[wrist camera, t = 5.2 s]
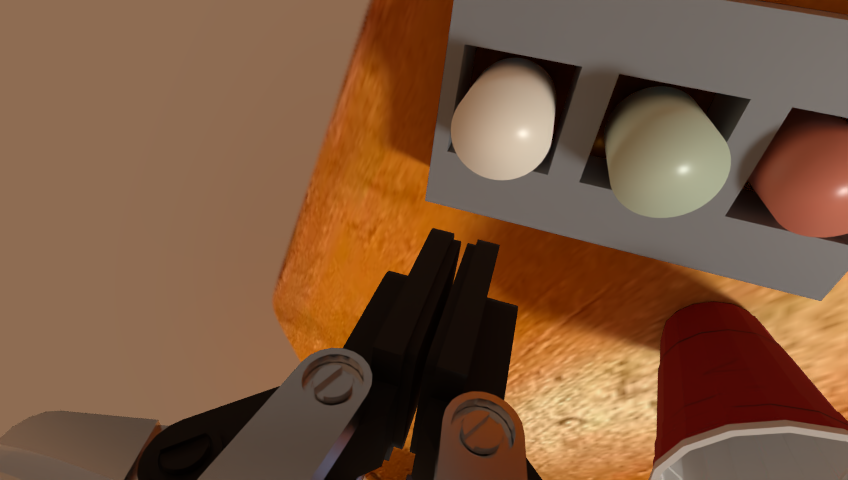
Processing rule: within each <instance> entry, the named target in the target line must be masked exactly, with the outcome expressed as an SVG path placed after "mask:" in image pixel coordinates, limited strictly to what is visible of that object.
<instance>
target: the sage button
mask: <svg viewBox="0 0 848 480" xmlns="http://www.w3.org/2000/svg"><path fill="white" fill-rule="evenodd" d="M604 144H605V151H606V158H607V165H608V172H609V179H610V185H611V188H612V191H613V193H614V195H615V196H616V198H617V199H618V200H619V202H620V203H621V204H622V205H624V206H625V207H626V208H627V209H629V210H631V211H633V212H635V213H637V214H640V215H643V216H647V217H652V218H669V217H676V216H680V215H684V214H687V213H690V212H692V211H694V210H696V209H698V208H700V207H702V206H703V205H705V204H706V203H707V202H709V201H710V200H711V199H712V198H713V197H714V196H715V195H716V194H717V193H718V192H719V191H720V190H721V188H722V187H723V185H724V184H725V182H726V180H727V178H728V175H729V172H730V166H731V155H730V150H729V147H728V145H727V143H726V141H725V140H724V138H723V137H722V135H721V134H720V133H719V131H718V130H717V129H716V128H715V126H714V125H713V124H712V122H711V121H710V120H709V118H708V117H707V116H706V114H705V113H704V112H703V110H702V109H701V108H700V107H699V105H698V104H697V103H696V101H695V100H694V99H693V98H692V97H691V96H690V95H688V94H687V93H685V92H684V91H681V90H679V89H676V88H673V87H666V86H656V87H649V88H645V89H642V90H639V91H637V92H635V93H633V94H631V95H629V96H628V97H626V98H625V99H624V100H622V101H621V102H620V103H619V104H618V105H617V106H616V107H615V108H614V110H613V111H612V112H611V114H610V116H609V117H608V120H607V122H606V125H605V129H604Z"/></svg>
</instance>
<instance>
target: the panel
mask: <svg viewBox="0 0 848 480" xmlns="http://www.w3.org/2000/svg"><path fill="white" fill-rule="evenodd" d="M477 47H482V48H488V49H493V50H498V51H503V52H508V53H514V54H519V55H524V56H529V57H534V58H540V59H545V60H550V61H555V62H560V63H565V64H571V65H576V69H575V72H574V75H573V78H572V82H571V85H570V88H569V91H568V94H567V98H566V101H565V104H564V107H563V110H562V114H561V117H560V120H559V123H558V127H557V130H556V133H555V136H554V139H553V143H552V146H550V148H549V151H548V153H547V155H546V156H545V158H544V159H543V161H542V162H541V163H540V164H539V165H538V166H537V167H536V168H535V169H534V170H532V171H531V172H529V173H528V174H526V175H524V176H521V177H519V178H515V179H511V180H493V179H488V178H485V177H482V176H480V175H478V174H476V173H474V172H473V171H471V170H470V169H469V168H468V167H467V166H466V165H465V164H463V162H462V161H461V160H460V159H459V157H458V155H457V154H456V152H455V149H454V147H453V143H452V139H451V123H452V118H453V115H454V113H455V110H456V108H457V107H458V105H459V104H460V102H461V101H462V99H463V98H464V97H465V95H466V94H467V93H468V91H469V87H470V82H471V76H472V70H473V65H474V59H475V54H476V48H477ZM619 74H623V75H628V76H633V77H638V78H643V79H648V80H654V81H659V82H664V83H669V84H674V85H680V86H685V87H690V88H695V89H700V90H705V91H711V92H716V95H715V97H714V99H713V101H712V103H711V105H710V107H709V109H708V111H707V113H706V116H707V117H708V118H709V120H710V121H711V122H712V124H713V125H714V126H715V128H716V129H717V130H718V131H719V133H720V134H721V135H722V137H723V138H724V140H725V141H726V143H727V145H728V147H729V150H730V155H731V166H730V172H729V175H728V178H727V180H726V182H725V184H724V185H723V187H722V188H721V190H720V191H719V192H718V193H717V194H716V195H715V196H714V197H713V198H712V199H711V200H710V201H709V202H707V203H706V204H705V205H703V206H702V207H700V208H698V209H696V210H694V211H692V212H690V213H687V214H684V215H680V216H676V217H669V218H652V217H647V216H643V215H640V214H637V213H635V212H633V211H631V210H629V209H627V208H626V207H625V206H624V205H622V204H621V203H620V202H619V200H618V199H617V198H616V196H615V195H614V193H613V191H612V188H611V185H610V179H609V172H608V165H607V159H605V158H600V157H596V156H591V155H589V154H590V152H591V149H592V146H593V144H594V141H595V138H596V135H597V133H598V130H599V127H600V125H601V122H602V119H603V116H604V114H605V111H606V108H607V106H608V103H609V100H610V98H611V95H612V92H613V89H614V87H615V84H616V81H617V79H618V76H619ZM792 107H794V108H799V109H804V110H809V111H814V112H820V113H825V114H830V115H835V116H840V117H845V118H848V15H846V14H839V13H833V12H827V11H821V10H814V9H808V8H802V7H796V6H789V5H783V4H777V3H771V2H764V1H758V0H454V3H453V10H452V17H451V24H450V31H449V38H448V45H447V52H446V59H445V66H444V73H443V80H442V87H441V94H440V101H439V108H438V115H437V122H436V129H435V136H434V143H433V150H432V157H431V164H430V171H429V178H428V185H427V192H426V199H425V201H428V202H432V203H436V204H440V205H444V206H448V207H452V208H456V209H460V210H464V211H468V212H472V213H476V214H480V215H484V216H488V217H491V218H495V219H499V220H503V221H507V222H511V223H515V224H519V225H523V226H527V227H531V228H535V229H539V230H543V231H547V232H551V233H554V234H558V235H562V236H566V237H570V238H574V239H578V240H582V241H586V242H590V243H594V244H598V245H602V246H606V247H610V248H614V249H618V250H621V251H625V252H629V253H633V254H637V255H641V256H645V257H649V258H653V259H657V260H661V261H665V262H669V263H673V264H677V265H681V266H685V267H688V268H692V269H696V270H700V271H704V272H708V273H712V274H716V275H720V276H724V277H728V278H732V279H736V280H740V281H744V282H748V283H752V284H755V285H759V286H763V287H767V288H771V289H775V290H779V291H783V292H787V293H791V294H795V295H799V296H803V297H807V298H811V299H815V300H819V301H821V300H822V299H823V298H824V297H825V296H826V295H827V294H828V293H829V291H830V290H831V289H832V288H833V287H834V286H835V285H836V284H837V282H838V281H839V280H840V279H841V278H842V277H843V276H844V275H845V273H846V272H847V271H848V233H847V234H844V235H839V236H834V237H807V236H802V235H799V234H795V233H793V232H791V231H789V230H787V229H785V228H784V227H783V226H781V225H780V224H779V223H778V222H777V220H776V219H775V218H774V216H773V215H772V214H771V212H770V211H769V210H768V208H767V207H766V205H765V204H764V203H763V201H762V200H761V199H760V197H759V196H758V194H757V193H756V192H753V191H748V190H744V189H742V188H743V186H744V184H745V183H746V181H747V180H748V178H749V176H750V175H751V173H752V172H753V170H754V168H755V167H756V165H757V163H758V162H759V160H760V159H761V157H762V155H763V154H764V152H765V151H766V149H767V147H768V146H769V144H770V142H771V141H772V139H773V138H774V136H775V134H776V133H777V131H778V130H779V128H780V126H781V125H782V123H783V121H784V120H785V118H786V117H787V115H788V113H789V112H790V110H791V109H792Z"/></svg>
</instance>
